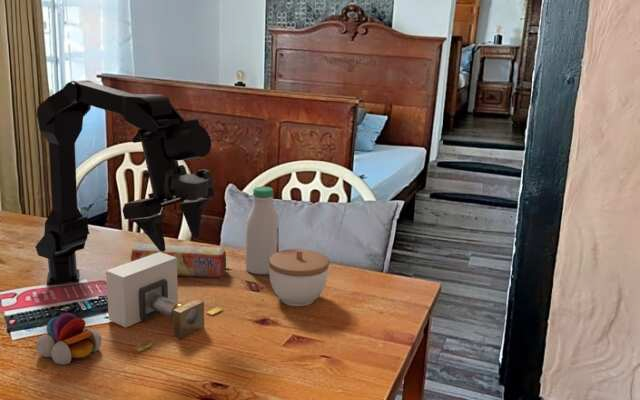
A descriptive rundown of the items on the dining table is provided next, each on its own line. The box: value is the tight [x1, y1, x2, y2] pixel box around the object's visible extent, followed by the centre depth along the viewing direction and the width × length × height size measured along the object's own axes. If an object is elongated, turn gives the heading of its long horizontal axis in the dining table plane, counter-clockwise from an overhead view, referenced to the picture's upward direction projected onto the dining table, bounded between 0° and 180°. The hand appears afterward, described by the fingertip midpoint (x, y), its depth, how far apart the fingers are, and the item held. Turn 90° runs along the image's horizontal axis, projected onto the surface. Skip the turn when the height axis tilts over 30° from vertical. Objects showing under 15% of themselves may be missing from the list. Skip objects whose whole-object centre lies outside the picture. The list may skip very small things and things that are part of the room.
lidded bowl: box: [269, 248, 330, 307], centre depth 127 cm, size 13×13×11 cm
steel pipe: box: [132, 291, 224, 353], centre depth 117 cm, size 19×21×6 cm
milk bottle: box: [245, 186, 280, 276], centre depth 141 cm, size 8×8×20 cm
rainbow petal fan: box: [35, 312, 103, 366], centre depth 103 cm, size 8×10×7 cm
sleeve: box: [105, 252, 179, 329], centre depth 118 cm, size 6×13×10 cm, turn 146°
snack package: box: [130, 242, 227, 279], centre depth 139 cm, size 21×7×7 cm, turn 91°
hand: (180, 244), depth 114 cm, fingers open, 9 cm apart
